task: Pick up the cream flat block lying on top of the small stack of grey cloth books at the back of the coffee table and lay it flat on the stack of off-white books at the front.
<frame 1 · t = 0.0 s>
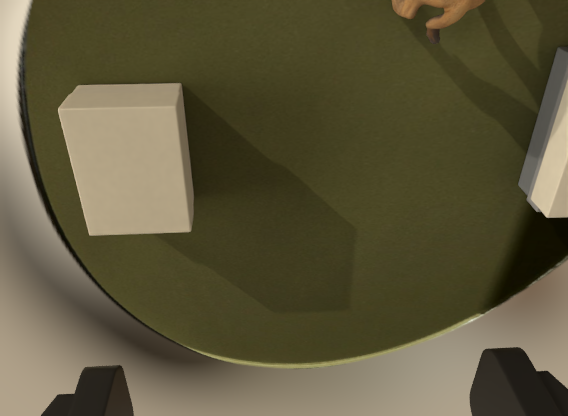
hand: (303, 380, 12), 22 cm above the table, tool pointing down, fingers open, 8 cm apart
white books: (140, 145, 32), on the table
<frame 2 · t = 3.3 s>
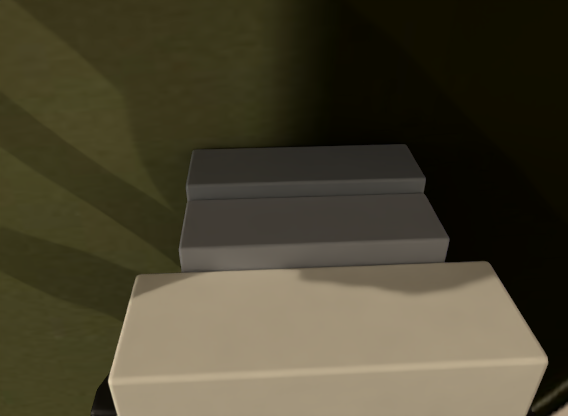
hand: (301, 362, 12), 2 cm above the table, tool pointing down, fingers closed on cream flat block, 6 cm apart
grey books: (296, 310, 13), on the table
cream flat block: (308, 412, 11), point 3 cm above the table, touching grey books, gripper
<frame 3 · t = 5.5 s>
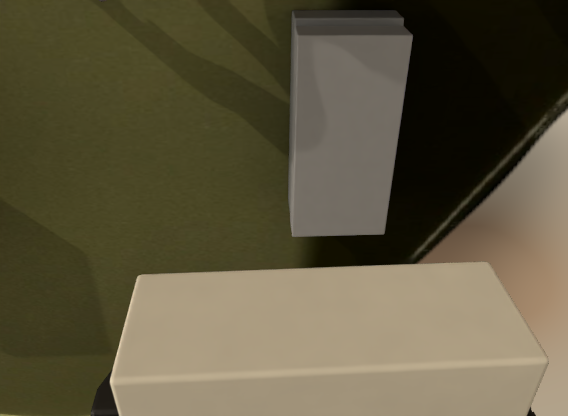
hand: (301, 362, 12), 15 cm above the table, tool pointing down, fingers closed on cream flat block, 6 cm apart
grey books: (336, 113, 25), on the table
cream flat block: (309, 412, 11), point 16 cm above the table, touching gripper
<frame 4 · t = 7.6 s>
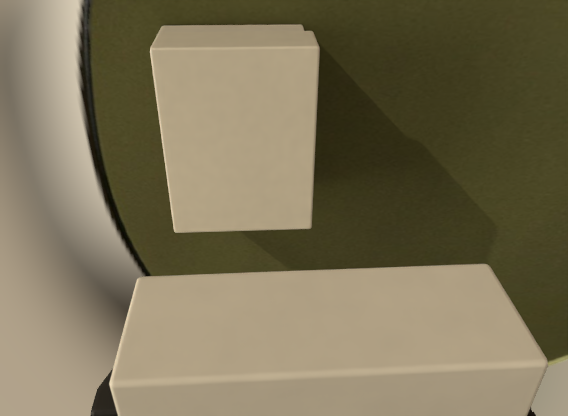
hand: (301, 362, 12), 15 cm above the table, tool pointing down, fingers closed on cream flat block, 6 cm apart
cream flat block: (309, 413, 11), point 16 cm above the table, touching gripper
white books: (236, 112, 24), on the table
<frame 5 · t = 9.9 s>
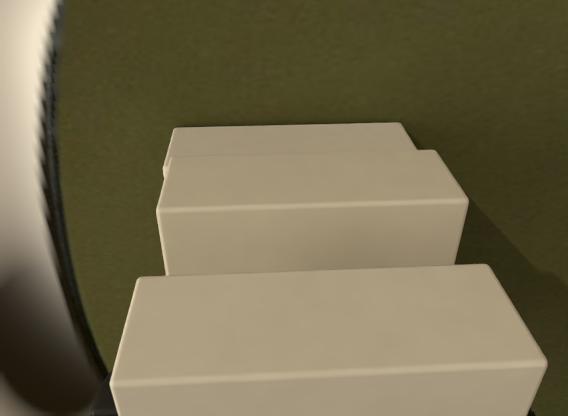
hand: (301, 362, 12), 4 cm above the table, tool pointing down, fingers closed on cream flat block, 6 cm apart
cream flat block: (309, 413, 11), point 6 cm above the table, touching gripper
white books: (287, 245, 16), on the table
when the fingers open (4 cm above the table, at t = 11.9 s): cream flat block drops 1 cm, resting on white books.
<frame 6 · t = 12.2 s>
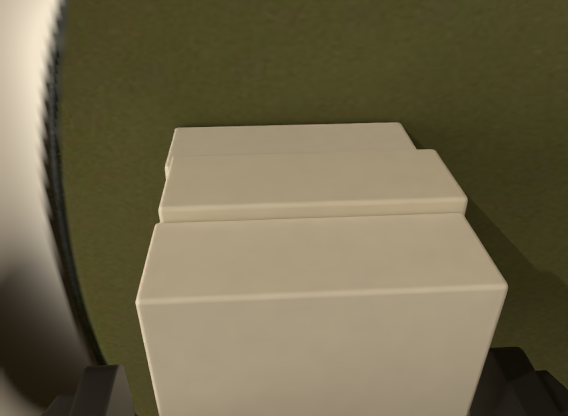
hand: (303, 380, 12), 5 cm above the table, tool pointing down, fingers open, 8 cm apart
cream flat block: (306, 356, 12), point 4 cm above the table, touching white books
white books: (288, 244, 16), on the table
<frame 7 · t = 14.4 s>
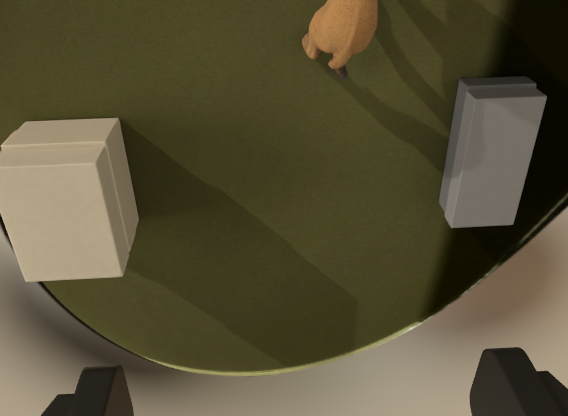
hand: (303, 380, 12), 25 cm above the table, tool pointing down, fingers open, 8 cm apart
grey books: (479, 143, 36), on the table
cream flat block: (69, 206, 32), point 4 cm above the table, touching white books
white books: (85, 173, 36), on the table
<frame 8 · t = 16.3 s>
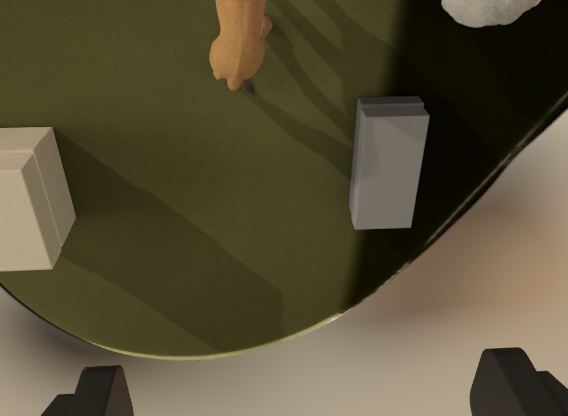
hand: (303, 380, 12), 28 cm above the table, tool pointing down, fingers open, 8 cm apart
grey books: (381, 154, 40), on the table
cream flat block: (4, 206, 36), point 4 cm above the table, touching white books
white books: (25, 175, 40), on the table
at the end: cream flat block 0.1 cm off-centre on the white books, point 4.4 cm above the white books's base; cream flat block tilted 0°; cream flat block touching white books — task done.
